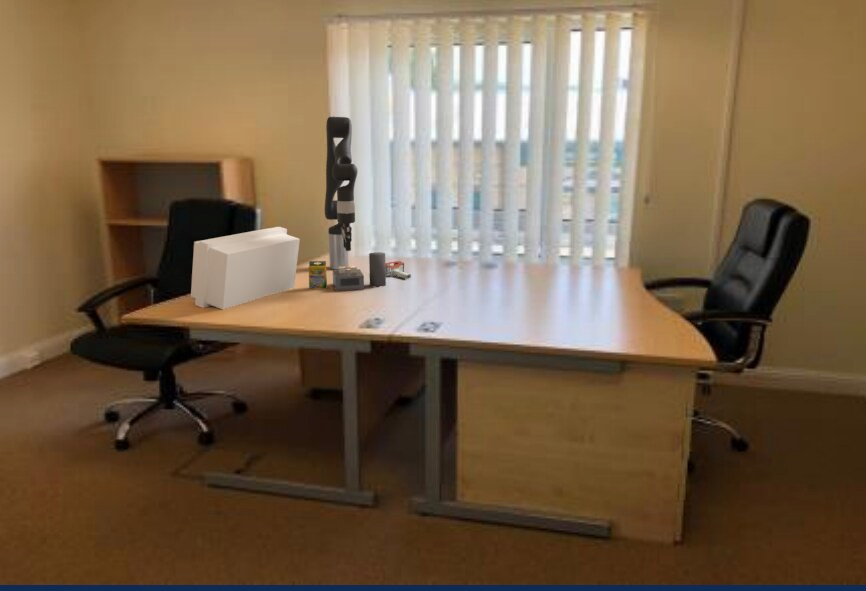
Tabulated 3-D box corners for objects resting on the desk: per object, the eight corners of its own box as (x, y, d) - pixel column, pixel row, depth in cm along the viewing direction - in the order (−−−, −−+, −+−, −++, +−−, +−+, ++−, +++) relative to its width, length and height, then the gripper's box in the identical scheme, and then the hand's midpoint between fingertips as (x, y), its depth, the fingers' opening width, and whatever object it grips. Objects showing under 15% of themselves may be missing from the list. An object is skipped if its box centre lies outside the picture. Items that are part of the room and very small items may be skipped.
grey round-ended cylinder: (368, 283, 305) (368, 252, 301) (384, 282, 306) (383, 252, 303) (371, 287, 298) (370, 255, 295) (386, 286, 300) (386, 254, 296)
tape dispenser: (409, 284, 313) (415, 272, 332) (410, 272, 311) (416, 261, 330) (371, 281, 314) (380, 269, 333) (371, 270, 313) (380, 259, 332)
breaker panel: (333, 283, 305) (332, 270, 303) (360, 282, 307) (359, 269, 306) (335, 290, 291) (335, 277, 290) (364, 289, 294) (363, 275, 292)
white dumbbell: (338, 272, 297) (338, 266, 296) (356, 271, 299) (356, 265, 298) (339, 273, 296) (339, 268, 295) (356, 272, 298) (356, 267, 297)
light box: (266, 279, 306) (271, 224, 297) (296, 291, 299) (302, 234, 290) (187, 301, 267) (190, 238, 259) (219, 315, 260) (224, 250, 252)
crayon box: (309, 289, 295) (308, 262, 292) (310, 287, 298) (308, 261, 295) (326, 288, 295) (325, 262, 292) (327, 287, 298) (326, 260, 295)
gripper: (335, 210, 298) (336, 246, 301) (338, 213, 284) (340, 252, 288) (352, 209, 299) (354, 246, 303) (356, 213, 286) (357, 251, 289)
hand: (347, 249), depth 295 cm, fingers open, 8 cm apart
